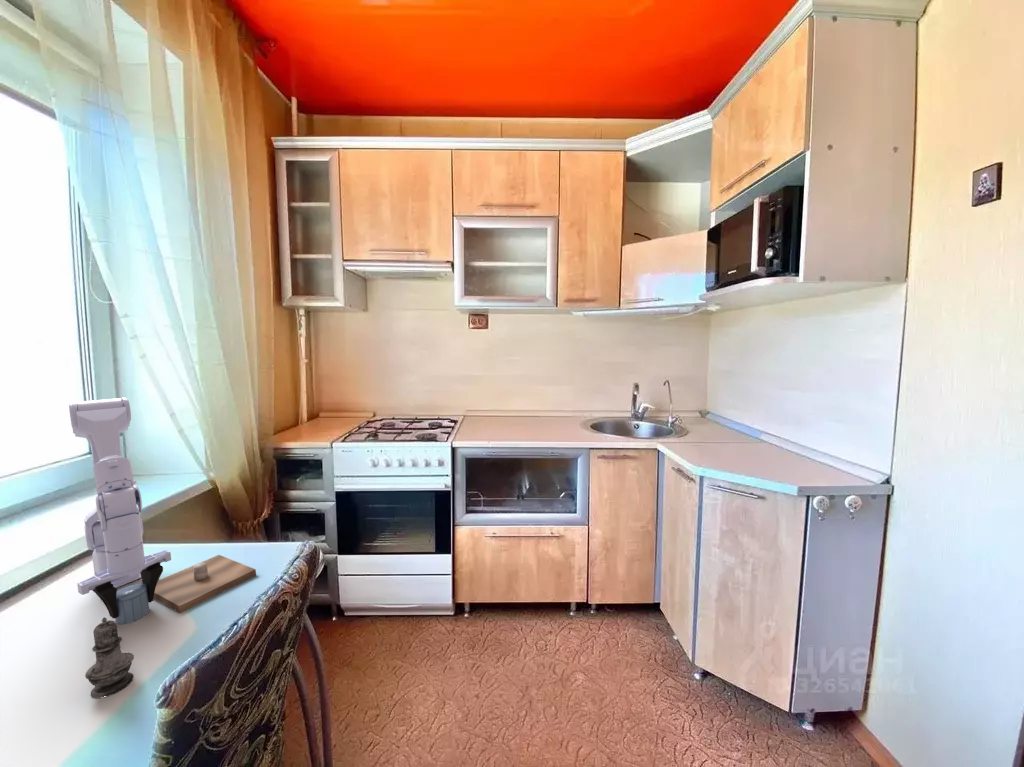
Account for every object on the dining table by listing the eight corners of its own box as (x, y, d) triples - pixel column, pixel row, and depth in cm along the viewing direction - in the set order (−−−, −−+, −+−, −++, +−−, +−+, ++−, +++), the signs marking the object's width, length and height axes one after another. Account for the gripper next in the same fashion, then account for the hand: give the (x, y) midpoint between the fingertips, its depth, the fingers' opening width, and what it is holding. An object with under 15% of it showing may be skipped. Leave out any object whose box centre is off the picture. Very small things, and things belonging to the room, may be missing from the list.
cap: (111, 619, 88) (108, 594, 87) (142, 605, 93) (139, 581, 92) (122, 626, 86) (119, 600, 85) (153, 611, 90) (151, 587, 90)
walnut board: (144, 592, 97) (142, 574, 97) (219, 560, 111) (217, 543, 111) (180, 612, 90) (177, 592, 89) (256, 575, 104) (254, 557, 103)
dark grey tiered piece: (106, 702, 67) (97, 631, 66) (78, 697, 69) (68, 627, 67) (145, 673, 73) (137, 608, 72) (118, 669, 74) (109, 604, 73)
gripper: (84, 567, 79) (93, 635, 81) (175, 535, 92) (181, 594, 93) (69, 559, 83) (78, 624, 84) (159, 529, 95) (165, 586, 97)
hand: (131, 608), depth 89 cm, fingers closed on cap, 5 cm apart
